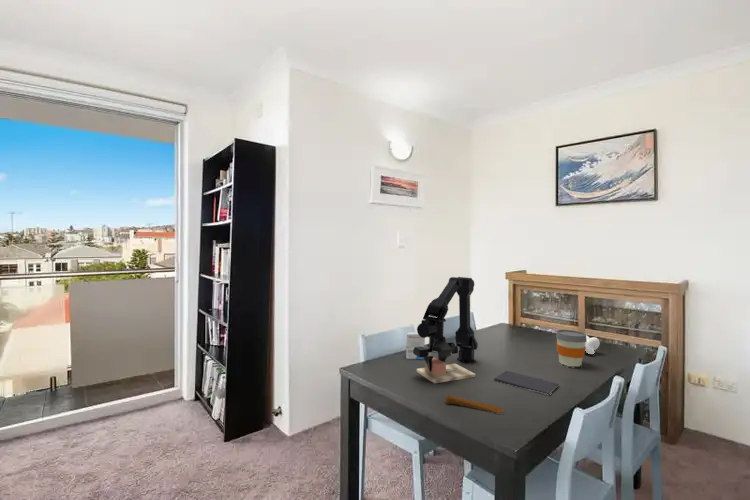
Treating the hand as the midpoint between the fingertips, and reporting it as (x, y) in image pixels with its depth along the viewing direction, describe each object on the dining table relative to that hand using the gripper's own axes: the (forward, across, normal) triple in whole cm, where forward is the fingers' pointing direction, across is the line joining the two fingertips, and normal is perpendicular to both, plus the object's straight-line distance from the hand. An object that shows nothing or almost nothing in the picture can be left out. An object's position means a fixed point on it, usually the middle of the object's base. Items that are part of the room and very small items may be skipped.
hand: (435, 370), depth 155 cm
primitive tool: (+3, -3, -29) cm, 30 cm away
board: (+2, +5, 0) cm, 6 cm away
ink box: (+2, +4, +24) cm, 25 cm away
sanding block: (+1, 0, 0) cm, 1 cm away
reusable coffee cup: (+2, +67, -10) cm, 68 cm away
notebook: (+3, +30, -20) cm, 36 cm away
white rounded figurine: (+2, +92, 0) cm, 92 cm away
